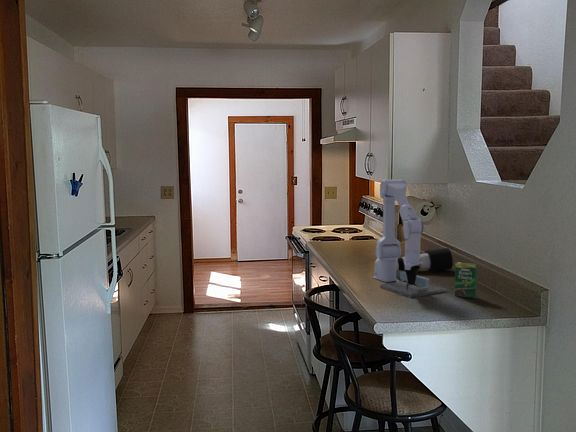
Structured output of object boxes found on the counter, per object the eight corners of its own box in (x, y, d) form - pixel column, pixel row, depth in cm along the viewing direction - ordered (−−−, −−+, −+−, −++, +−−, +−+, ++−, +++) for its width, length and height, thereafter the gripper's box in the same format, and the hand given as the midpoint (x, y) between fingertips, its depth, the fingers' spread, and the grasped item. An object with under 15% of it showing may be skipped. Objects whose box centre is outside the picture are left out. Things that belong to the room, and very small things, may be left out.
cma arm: (394, 277, 224) (394, 270, 223) (399, 276, 225) (400, 270, 225) (424, 286, 209) (424, 279, 208) (430, 285, 210) (430, 278, 210)
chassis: (380, 287, 221) (380, 280, 221) (414, 281, 230) (415, 274, 230) (410, 297, 206) (411, 290, 205) (446, 291, 215) (446, 284, 215)
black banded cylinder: (378, 280, 252) (374, 259, 255) (447, 271, 254) (443, 251, 257) (382, 275, 243) (377, 253, 246) (454, 266, 245) (449, 245, 248)
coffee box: (453, 295, 208) (454, 262, 207) (455, 294, 211) (456, 261, 209) (474, 299, 204) (476, 265, 203) (476, 297, 207) (478, 263, 205)
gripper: (418, 254, 200) (417, 289, 202) (426, 247, 213) (425, 281, 215) (399, 252, 203) (398, 287, 205) (409, 246, 216) (408, 279, 218)
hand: (411, 284), depth 210 cm, fingers closed
